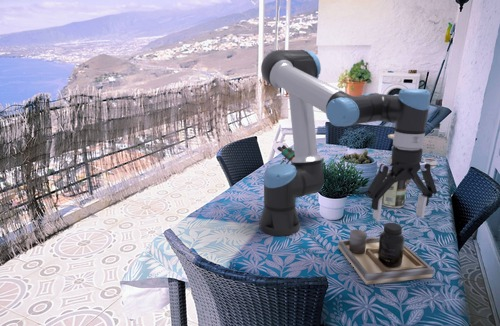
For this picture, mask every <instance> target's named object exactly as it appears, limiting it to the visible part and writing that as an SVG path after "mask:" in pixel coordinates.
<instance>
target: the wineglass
mask: <svg viewBox="0 0 500 326" xmlns="http://www.w3.org/2000/svg"><path fill="white" fill-rule="evenodd" d="M422 159H423V160H422V162H426V163H428V164H430V171H431V170H433V169H435V168H436V167H437V165H438V160H439V159H438V158H435V157H430V156H425V157H422ZM421 181H422V182H423V183H425V181H424V179H421Z"/></svg>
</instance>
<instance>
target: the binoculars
mask: <svg viewBox="0 0 500 326" xmlns="http://www.w3.org/2000/svg"><path fill="white" fill-rule="evenodd" d="M276 149H277V150H278V151H279V152H281V155H282V156H283V158H282V159H281V162H280V163H279V164H284V163H285V164H291V165H292V162H291V161H292V159H293V158H294V157H295V152H294V149H293V148H292V147H287V146H286V145H285V144H282V147H281V146H278V147H277V148H276Z"/></svg>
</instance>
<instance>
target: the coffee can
mask: <svg viewBox="0 0 500 326" xmlns="http://www.w3.org/2000/svg"><path fill="white" fill-rule="evenodd" d="M390 172H391V170H390V171H389V173H390ZM389 173H387V176H388V174H389ZM387 176H386V178H387ZM386 178H385V179H386ZM393 178H394V176H393ZM385 179H384V180H385ZM407 185H408V184H407V180H401V181H400V180H398V181H397V182H396V183H394V184H393V185H392V186H391V187H390V188H389V189H388V190H387V192H386V193H385V194H384V195H383V196H382V197H381V198H380V199H381V200H382V206H384V207H386V208H390V209H391V208H392V209H399V208H400V209H401V208H403V207H405V200H406V194H407V193H406V191H407Z"/></svg>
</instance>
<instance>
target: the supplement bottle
mask: <svg viewBox="0 0 500 326" xmlns="http://www.w3.org/2000/svg"><path fill="white" fill-rule="evenodd" d="M402 230H403V227H402V226H401V225H400V224H398V223H395V222H387V223H386V222H385V224H384V226H383V230H382V232H380V235H379V237H380V239H379V250H378V259H379V260H380V262H381V263H382V264H383V265H384V266H386V267H391V268H396V267H399V266H400V265H401V264H402V258H403V250H404V244H405V236H404V235H403V231H402Z"/></svg>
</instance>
